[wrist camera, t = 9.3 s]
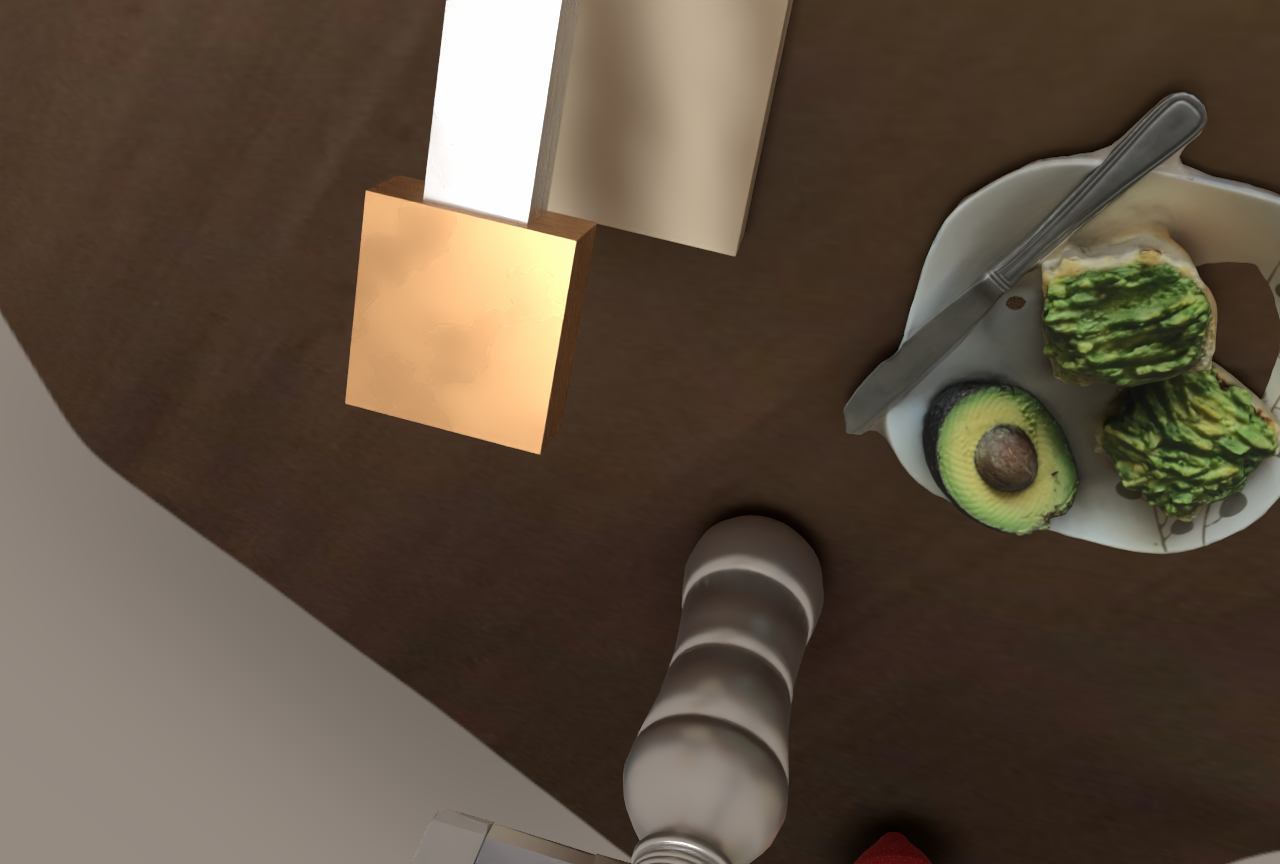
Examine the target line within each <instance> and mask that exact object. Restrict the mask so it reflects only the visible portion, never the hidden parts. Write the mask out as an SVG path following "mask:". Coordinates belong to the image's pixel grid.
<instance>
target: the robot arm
mask: <svg viewBox="0 0 1280 864" xmlns="http://www.w3.org/2000/svg"><path fill="white" fill-rule="evenodd" d="M411 864H632V863H628V862H624V861H621V860H617V859H613V858H610V857H607V856H603V855H600V854H596V855H594V854H591V853H588V852H584V851H582V850H578V849H575V848H572V847H569V846H565V845H562V844H559V843H556V842H553V841H550V840H546V839H543V838H540V837H536V836H533V835H530V834H527V833H524V832H521V831H517V830H514V829H511V828H508V827H505V826H502V825H498V824H495V823H494V822H491V821H488V820H484V819H481V818H478V817H474V816H471V815H468V814H464V813H460V812H457V811H454V810H451V809H447V808H444V807H441V808H440V810H439V811H438V812H437V814H436V815H435V816H434V818H433V819H432V820H431V822H430V823H429V825H428V827H427V829H426V832H425V834H424V836H423V838H422V840H421V842H420V844H419V846H418V849H417V851H416V853H415V855H414V857H413V859H412V861H411Z"/></svg>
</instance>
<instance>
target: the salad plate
mask: <svg viewBox="0 0 1280 864" xmlns="http://www.w3.org/2000/svg"><path fill="white" fill-rule="evenodd" d="M1207 120H1208V119H1207V112H1206V109H1205V106H1204V104H1203V103H1202V102H1201V101H1200V100H1199V99H1198V98H1197V97H1196V96H1195V95H1193V94H1192V93H1189V92H1177V93H1173V94H1170V95H1168V96H1167V97H1165V98H1164V99H1162V100H1161V101H1160V102H1158V103H1157V104H1156V105H1155V106H1154V107H1153V108H1152V109H1151V110H1150V111H1149V112H1148V113H1147V114H1146V115H1144V116H1143V117H1142V118H1141V119H1140V120H1139V121H1138V122H1137V123H1136V124H1135V125H1134V126H1133V127H1132V128H1131V129H1129V130H1128V131H1127V132H1126V133H1125V134H1124V135H1123V136H1122V137H1121V138H1120V139H1119V140H1117V141H1116V142H1115V143H1113V144H1112V145H1111V146H1108V147H1106V148H1103V149H1100V150H1098V151H1095V152H1092V153H1082V154H1076V155H1072V156H1061V157H1053V158H1047V159H1041V160H1037V161H1034V162H1031V163H1029V164H1027V165H1025V166H1023V167H1022V168H1020V169H1018V170H1015V171H1013V172H1011V173H1009V174H1007V175H1004V176H1003V177H1001V178H999V179H997V180H995V181H993V182H991V183H990V184H988V185H986V186H984V187H983V188H981V189H980V190H978V191H977V192H975V193H972V194H970V195H968V196H967V197H965V198H964V199H963V200H961V201H960V203H959V204H958V206H957V207H956V209H955V210H954V211H953V212H952V213H951V214H950V215H949V216H948V217H947V219H946V220H945V221H944V223H943V224H942V226H941V228H940V230H939V232H938V233H937V236H936V237H935V239H934V241H933V243H932V245H931V248H930V250H929V252H928V255H927V257H926V260H925V262H924V265H923V268H922V271H921V274H920V279H919V282H918V287H917V291H916V294H915V297H914V301H913V303H912V306H911V309H910V313H909V317H908V321H907V324H906V328H905V332H904V337H903V339H902V342H901V344H900V346H899V349H898V350H897V352H896V353H895V354H893V355H892V356H891V357H890V358H888V359H887V360H885V361H883V362H882V363H880V364H879V365H878V366H877V368H876V369H875V370H874V371H872V372H871V373H870V374H869V376H868V377H867V378H866V379H865V380H864V381H863V382H862V384H861V385H860V386H859V387H858V388H857V390H856V391H855V393H854V394H853V396H852V397H851V398H850V400H849V401H848V403H847V404H846V405H845V407H844V409H843V412H844V418H845V421H846V432H847V433H850V434H857V435H862V434H863V433H865V432H867V431H877V432H878V433H880V434H881V435H882V436H883V437H884V438H885V439H886V441H887V442H888V444H889V445H890V446H891V448H892V449H893V451H894V452H895V454H896V456H897V458H898V459H899V461H900V462H901V464H902V465H903V467H904V468H905V469H906V470H907V472H908V473H909V474H910V475H911V476H912V477H913V478H914V479H915V480H916V481H917V482H918V483H919V484H920V485H922V486H924V487H925V488H926V489H927V490H929V491H930V492H931V493H933V494H935V495H937V496H939V497H942V498H944V499H946V500H947V501H949V502H951V503H952V504H953V505H954V506H955V507H956V508H957V509H958V510H959V511H961V512H962V513H963V514H964V515H966V516H968V517H969V518H971V519H972V520H974V521H975V522H977V523H979V524H981V525H983V526H985V527H988V528H991V529H993V530H996V531H999V532H1003V533H1008V534H1015V535H1020V536H1024V535H1029V534H1031V533H1033V532H1034V531H1036V530H1043V531H1047V530H1051V531H1055V532H1058V533H1061V534H1063V535H1066V536H1069V537H1073V538H1079V539H1083V540H1087V541H1090V542H1094V543H1097V544H1102V545H1106V546H1109V547H1113V548H1118V549H1124V550H1129V551H1135V552H1141V553H1153V554H1171V553H1180V552H1185V551H1190V550H1194V549H1198V548H1202V547H1205V546H1207V545H1209V544H1211V543H1214V542H1217V541H1219V540H1222V539H1224V538H1226V537H1228V536H1230V535H1232V534H1234V533H1236V532H1239V531H1241V530H1244V529H1245V528H1247V527H1248V526H1249V525H1251V524H1252V523H1254V522H1255V521H1257V520H1258V519H1259V518H1261V517H1262V516H1263V515H1265V513H1266V512H1267V511H1268V509H1269V508H1270V507H1271V506H1272V505H1273V504H1274V503H1275V502H1276V500H1277V499H1278V498H1279V497H1280V341H1279V345H1278V346H1279V355H1278V358H1277V361H1276V364H1275V367H1274V368H1273V371H1272V375H1271V378H1270V380H1269V383H1268V385H1267V388H1266V390H1265V393H1264V395H1263V397H1262V398H1261V399H1259V398H1258V397H1257V396H1256V395H1255V394H1254V393H1253V392H1251V391H1250V390H1249V389H1248V388H1247V387H1246V386H1244V385H1243V384H1242V383H1241V382H1240V381H1239V380H1237V379H1236V378H1235V377H1234V376H1233V375H1231V374H1230V373H1229V372H1227V371H1226V370H1225V369H1224V368H1222V367H1221V366H1219V365H1218V364H1216V363H1215V362H1213V361H1212V356H1213V354H1214V351H1215V343H1216V329H1217V306H1216V302H1215V299H1214V297H1213V295H1212V293H1211V291H1210V289H1209V288H1208V287H1207V286H1206V285H1205V284H1204V282H1203V281H1202V280H1201V278H1200V277H1199V274H1198V272H1197V269H1196V267H1197V266H1200V265H1202V264H1205V263H1219V262H1241V263H1252V264H1255V265H1256V266H1257V267H1258V269H1259V270H1260V272H1261V273H1262V275H1263V276H1264V278H1265V279H1266V281H1267V282H1268V284H1269V286H1270V288H1271V290H1272V292H1273V295H1274V298H1275V304H1276V308H1277V311H1278V314H1279V318H1280V194H1277V193H1274V192H1272V191H1269V190H1266V189H1263V188H1259V187H1255V186H1252V185H1250V184H1247V183H1242V182H1238V181H1234V180H1229V179H1223V178H1218V177H1214V176H1211V175H1208V174H1206V173H1203V172H1201V171H1199V170H1196V169H1194V168H1191V167H1189V166H1186V165H1184V164H1183V163H1182V162H1181V159H1180V155H1181V153H1182V151H1183V150H1184V148H1185V147H1186V146H1187V145H1188V144H1189V143H1190V142H1191V141H1193V140H1194V139H1195V138H1196V137H1197V136H1199V135H1200V133H1201V132H1202V130H1203V129H1204V127H1205V125H1206V122H1207ZM1012 296H1018V297H1022V298H1023V299H1024V300H1025V301H1026V303H1025V305H1024V306H1023V307H1022V308H1021V309H1018V310H1012V309H1009V308H1008V307H1007V306H1006V301H1007V300H1008V298H1010V297H1012ZM1119 386H1123V387H1125V388H1124V389H1123V391H1121V392H1119V393H1117V392H1115V390H1116V389H1117V388H1118V387H1119Z"/></svg>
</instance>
